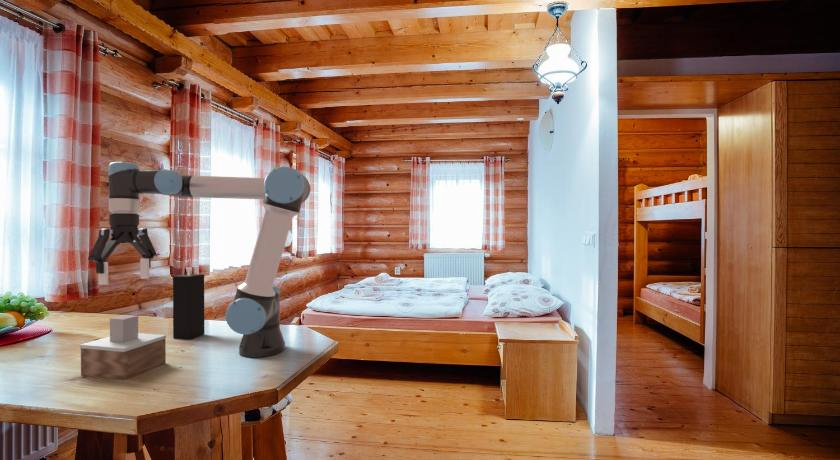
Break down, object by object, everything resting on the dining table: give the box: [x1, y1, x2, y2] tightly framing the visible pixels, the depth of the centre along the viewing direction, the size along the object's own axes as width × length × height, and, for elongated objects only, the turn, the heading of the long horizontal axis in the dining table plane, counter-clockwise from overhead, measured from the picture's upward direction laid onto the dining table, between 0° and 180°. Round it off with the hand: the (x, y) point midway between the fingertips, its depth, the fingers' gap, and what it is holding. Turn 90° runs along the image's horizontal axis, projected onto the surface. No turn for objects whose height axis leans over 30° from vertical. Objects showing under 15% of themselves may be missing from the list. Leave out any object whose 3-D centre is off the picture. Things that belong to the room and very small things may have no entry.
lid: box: [79, 332, 167, 352], centre depth 123 cm, size 16×14×1 cm
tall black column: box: [172, 266, 205, 340], centre depth 159 cm, size 8×8×28 cm
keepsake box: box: [80, 338, 167, 380], centre depth 123 cm, size 16×14×8 cm
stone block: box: [109, 314, 139, 343], centre depth 123 cm, size 5×5×7 cm
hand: (125, 281), depth 123 cm, fingers open, 13 cm apart
